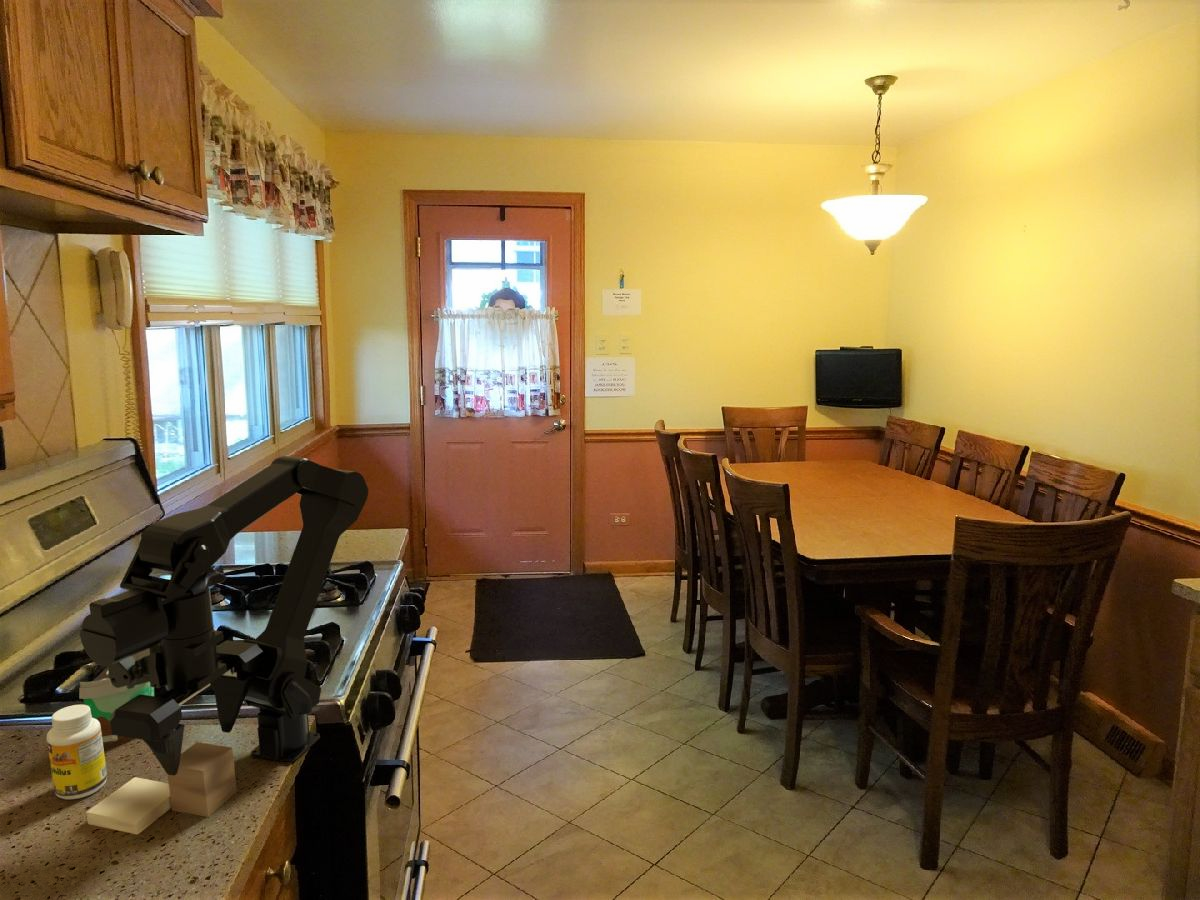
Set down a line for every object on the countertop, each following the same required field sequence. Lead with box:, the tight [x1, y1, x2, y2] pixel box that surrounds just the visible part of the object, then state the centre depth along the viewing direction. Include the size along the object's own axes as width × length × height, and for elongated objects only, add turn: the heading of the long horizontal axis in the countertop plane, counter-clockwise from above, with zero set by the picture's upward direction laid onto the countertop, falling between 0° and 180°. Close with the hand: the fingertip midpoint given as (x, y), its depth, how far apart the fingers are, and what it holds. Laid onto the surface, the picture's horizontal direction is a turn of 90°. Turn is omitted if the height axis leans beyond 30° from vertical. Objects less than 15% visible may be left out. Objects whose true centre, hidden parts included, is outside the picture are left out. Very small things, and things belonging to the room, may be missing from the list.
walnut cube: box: [167, 741, 238, 818], centre depth 98 cm, size 5×5×6 cm
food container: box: [78, 655, 155, 748], centre depth 114 cm, size 12×6×10 cm, turn 179°
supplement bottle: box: [46, 704, 108, 800], centre depth 100 cm, size 6×6×10 cm
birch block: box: [85, 776, 172, 835], centre depth 97 cm, size 7×7×2 cm
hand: (200, 752), depth 98 cm, fingers open, 9 cm apart
